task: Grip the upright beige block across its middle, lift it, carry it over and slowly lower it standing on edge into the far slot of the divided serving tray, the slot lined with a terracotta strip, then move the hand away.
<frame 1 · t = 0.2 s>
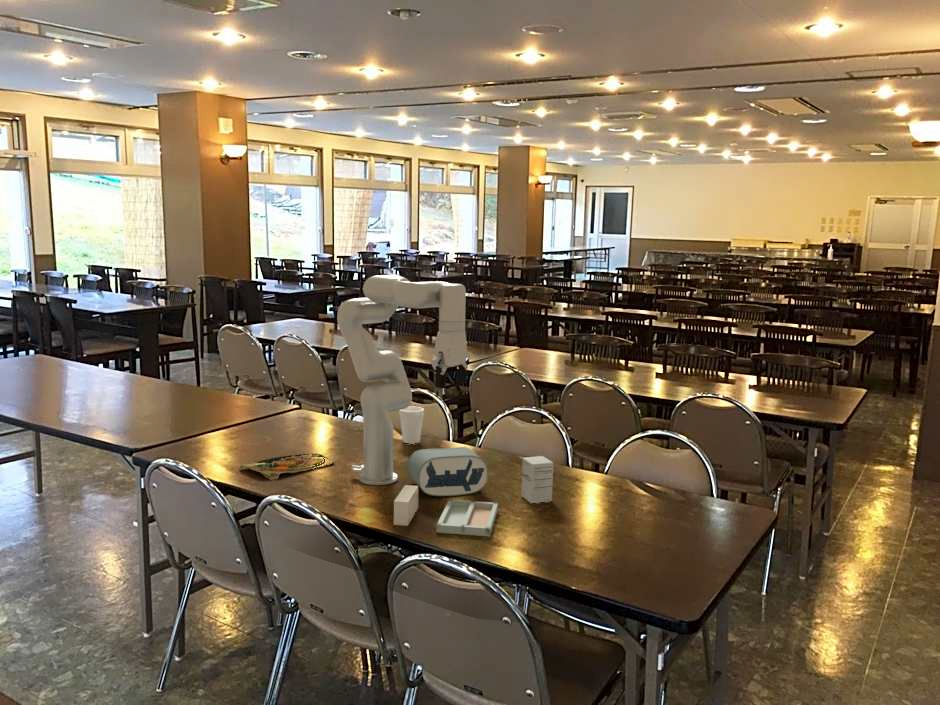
hand: (451, 385, 231), 37 cm above the table, tool pointing down, fingers open, 9 cm apart
stacked block tower: (536, 499, 245), on the table
upright beige block: (406, 516, 228), on the table
prepared meal: (288, 468, 271), on the table
foam cup: (411, 442, 304), on the table
pencil case: (446, 488, 254), on the table
divided serving tray: (468, 520, 226), on the table
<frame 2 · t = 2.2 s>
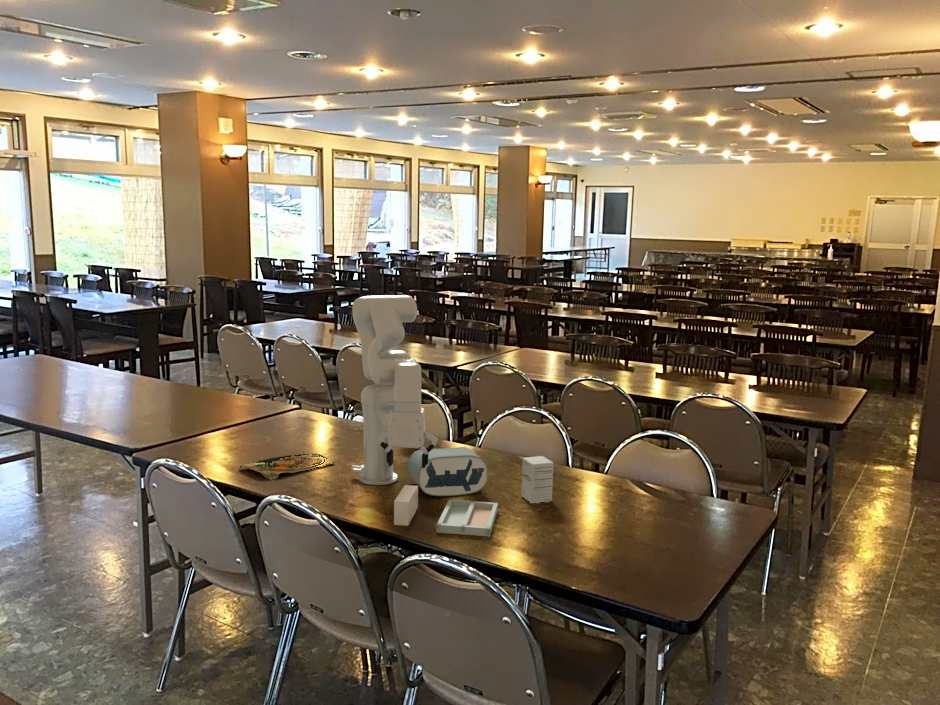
hand: (407, 465, 225), 15 cm above the table, tool pointing down, fingers open, 9 cm apart
nothing on the table moved.
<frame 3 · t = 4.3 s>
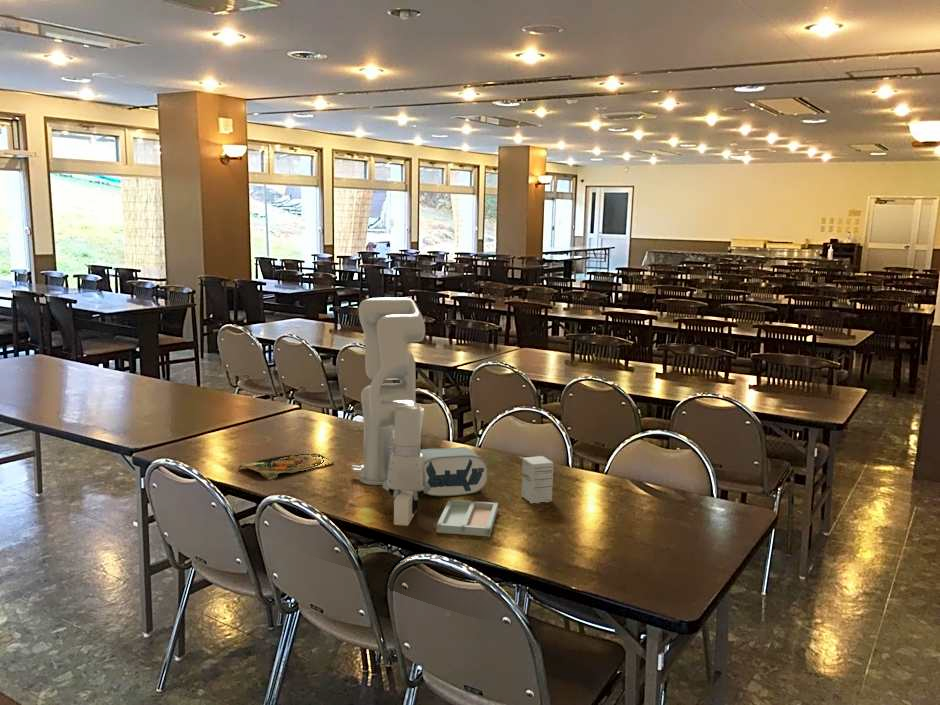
hand: (406, 510, 228), 2 cm above the table, tool pointing down, fingers closed on upright beige block, 4 cm apart
upright beige block: (406, 516, 228), on the table, touching gripper
everything else where it was.
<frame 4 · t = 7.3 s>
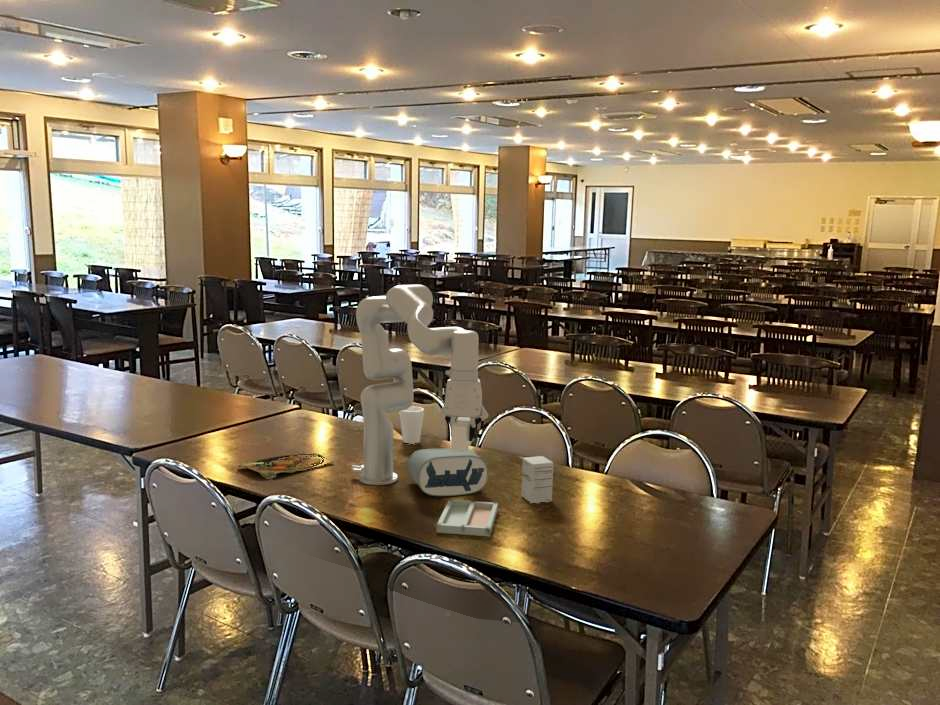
hand: (463, 439, 222), 24 cm above the table, tool pointing down, fingers closed on upright beige block, 4 cm apart
upright beige block: (462, 444, 222), point 22 cm above the table, touching gripper
everything else where it was.
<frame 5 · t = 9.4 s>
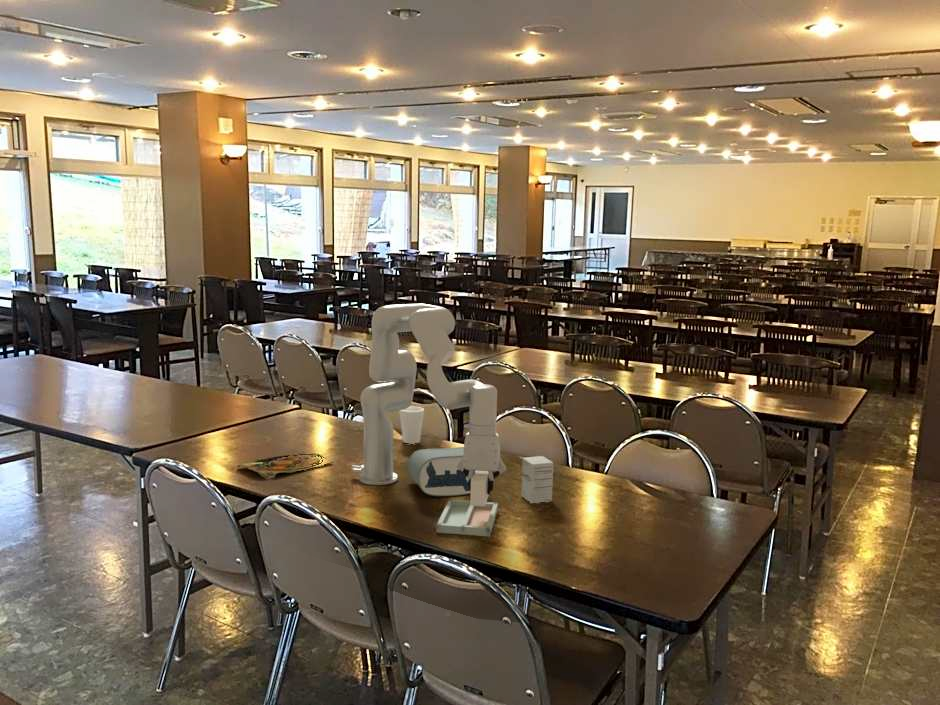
hand: (480, 491, 224), 9 cm above the table, tool pointing down, fingers closed on upright beige block, 4 cm apart
upright beige block: (480, 497, 224), point 7 cm above the table, touching gripper
everything else where it was.
when the fingers open (3 cm above the table, at t = 10.9 s): upright beige block stays where it is, resting on divided serving tray.
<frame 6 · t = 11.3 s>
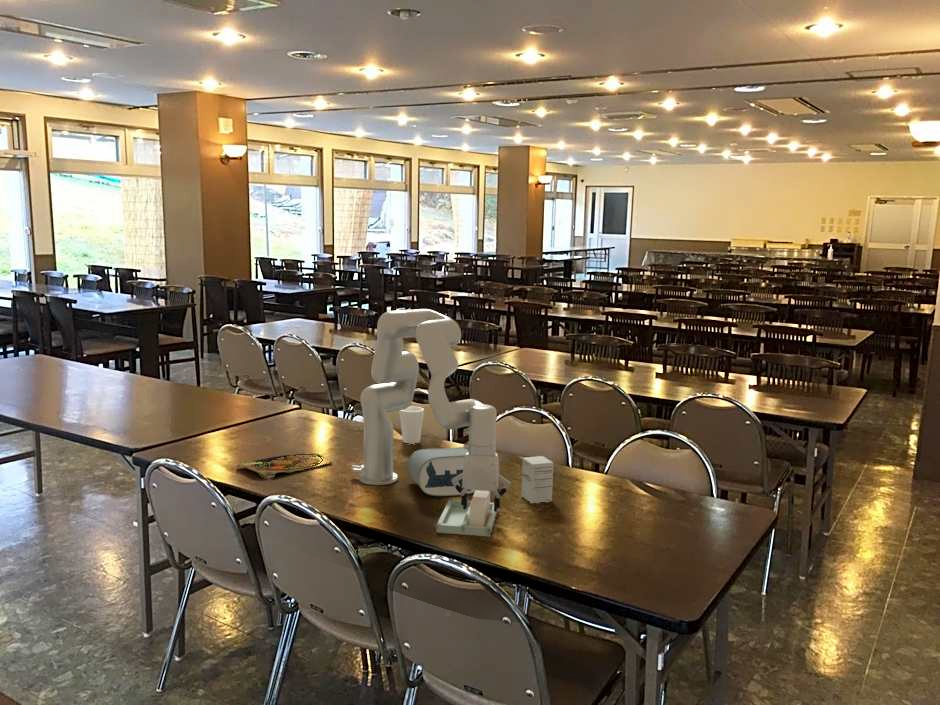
hand: (480, 508, 225), 4 cm above the table, tool pointing down, fingers open, 8 cm apart
upright beige block: (479, 519, 225), point 1 cm above the table, touching divided serving tray
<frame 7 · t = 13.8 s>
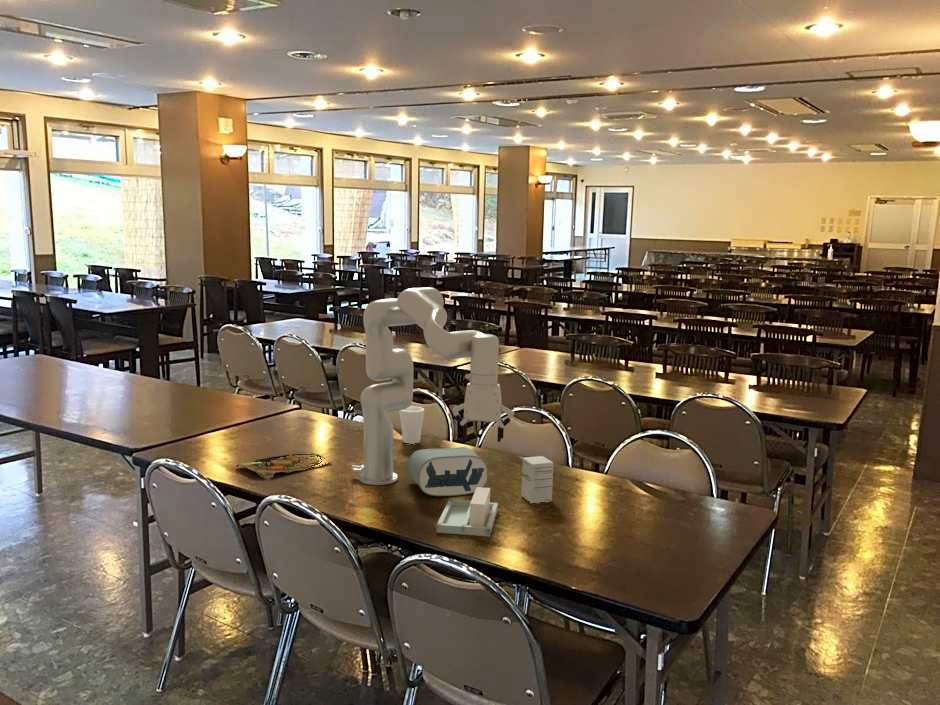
hand: (482, 439, 221), 24 cm above the table, tool pointing down, fingers open, 9 cm apart
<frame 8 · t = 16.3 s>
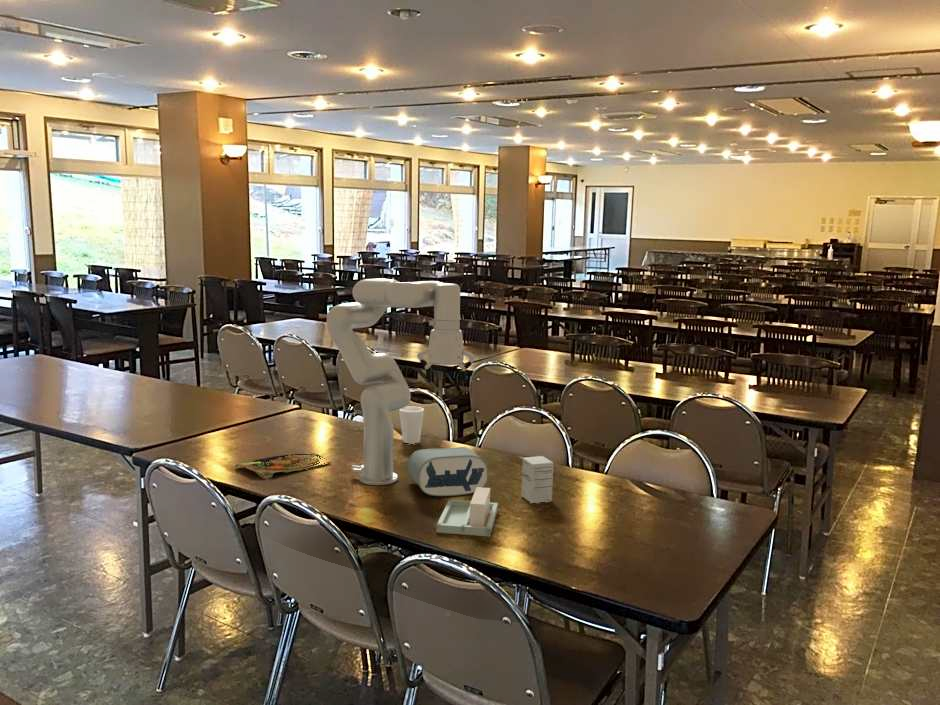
hand: (445, 382, 237), 36 cm above the table, tool pointing down, fingers open, 9 cm apart
at the end: upright beige block 0.1 cm from the target spot on the divided serving tray, point 0.7 cm above the divided serving tray's base; upright beige block tilted 0°; the gripper is holding nothing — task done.
